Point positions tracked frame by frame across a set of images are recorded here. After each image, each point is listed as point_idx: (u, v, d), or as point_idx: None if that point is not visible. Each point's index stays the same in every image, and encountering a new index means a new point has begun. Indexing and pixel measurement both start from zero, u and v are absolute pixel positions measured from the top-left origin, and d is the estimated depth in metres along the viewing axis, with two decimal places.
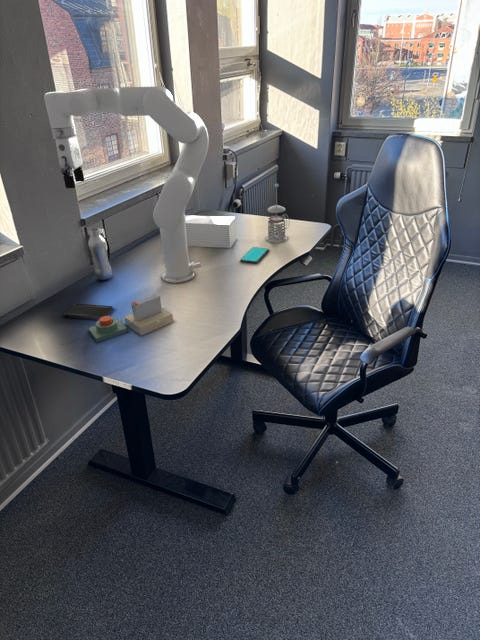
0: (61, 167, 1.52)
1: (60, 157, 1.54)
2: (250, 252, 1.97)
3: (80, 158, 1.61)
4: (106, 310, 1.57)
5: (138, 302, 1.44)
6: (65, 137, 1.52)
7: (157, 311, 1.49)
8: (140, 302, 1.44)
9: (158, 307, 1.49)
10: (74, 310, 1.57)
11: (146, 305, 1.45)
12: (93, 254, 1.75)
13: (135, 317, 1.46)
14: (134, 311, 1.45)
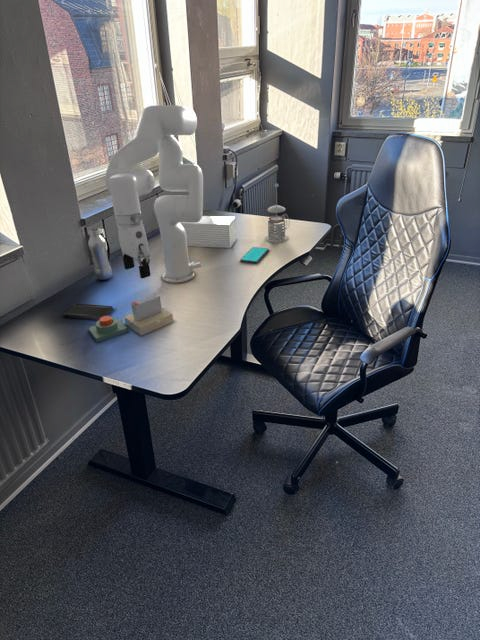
0: (147, 256, 1.33)
1: (137, 246, 1.34)
2: (250, 252, 1.97)
3: None
4: (106, 310, 1.57)
5: (138, 302, 1.44)
6: (139, 223, 1.33)
7: (157, 311, 1.49)
8: (140, 302, 1.44)
9: (158, 307, 1.49)
10: (74, 310, 1.57)
11: (146, 305, 1.45)
12: (93, 254, 1.75)
13: (135, 317, 1.46)
14: (134, 311, 1.45)
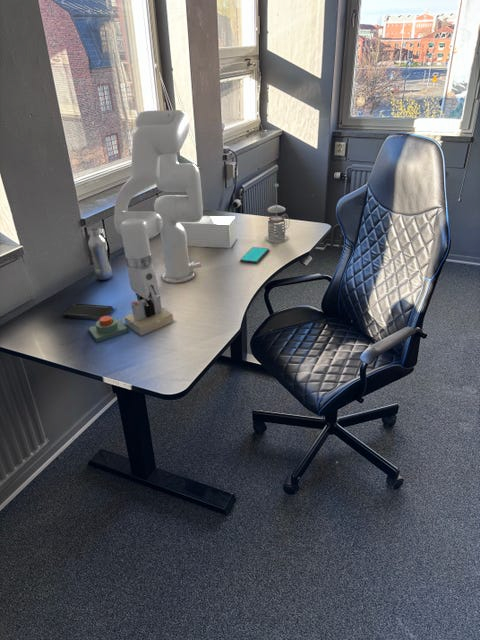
0: None
1: (147, 287, 1.39)
2: (250, 252, 1.97)
3: None
4: (106, 310, 1.57)
5: (138, 302, 1.44)
6: (149, 265, 1.38)
7: (157, 311, 1.49)
8: (140, 302, 1.44)
9: (158, 307, 1.49)
10: (74, 310, 1.57)
11: None
12: (93, 254, 1.75)
13: (135, 317, 1.46)
14: (134, 311, 1.45)
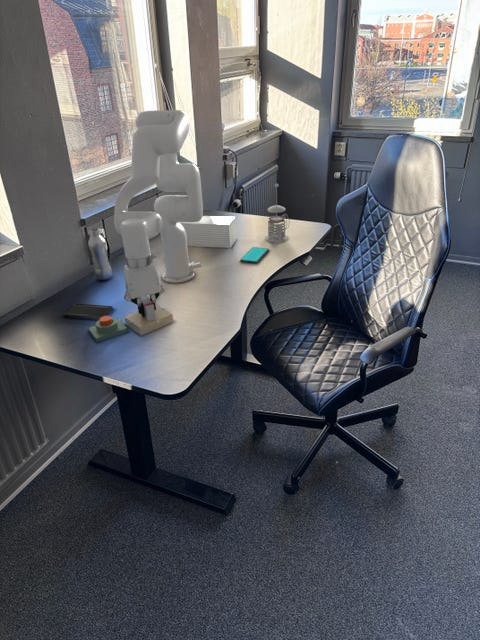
0: None
1: None
2: (250, 252, 1.97)
3: None
4: (106, 310, 1.57)
5: (147, 303, 1.44)
6: None
7: None
8: (148, 302, 1.44)
9: None
10: (74, 310, 1.57)
11: None
12: (93, 254, 1.75)
13: (151, 319, 1.45)
14: (150, 312, 1.44)
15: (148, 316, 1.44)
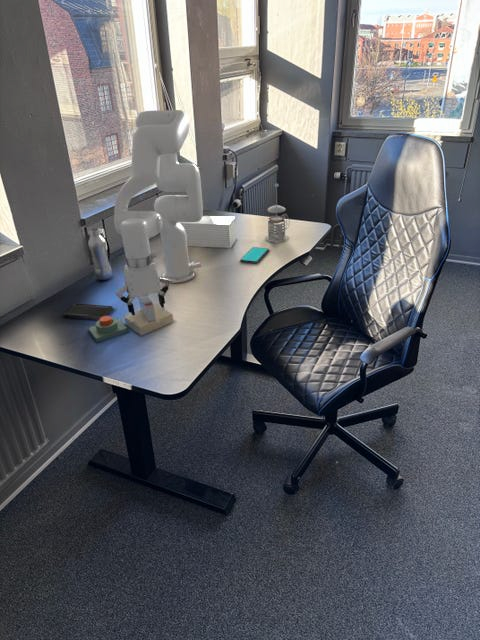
0: None
1: (159, 278, 1.44)
2: (250, 252, 1.97)
3: None
4: (106, 310, 1.57)
5: (147, 303, 1.44)
6: None
7: None
8: (148, 302, 1.44)
9: None
10: (74, 310, 1.57)
11: None
12: (93, 254, 1.75)
13: (151, 319, 1.45)
14: (150, 312, 1.44)
15: (148, 316, 1.44)
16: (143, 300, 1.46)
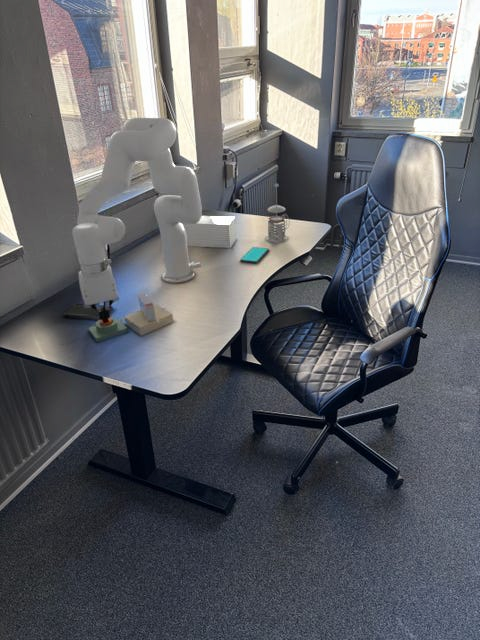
0: None
1: (115, 285, 1.40)
2: (250, 252, 1.97)
3: None
4: None
5: (147, 303, 1.44)
6: None
7: None
8: (148, 302, 1.44)
9: None
10: (74, 310, 1.57)
11: None
12: None
13: (151, 319, 1.45)
14: (150, 312, 1.44)
15: (148, 316, 1.44)
16: (143, 300, 1.46)
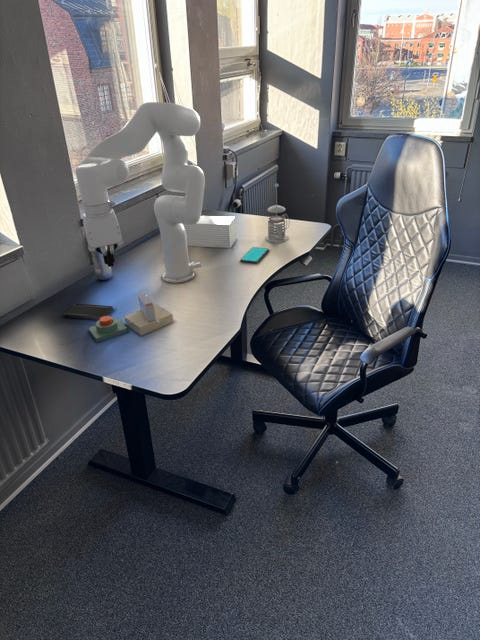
0: None
1: (119, 228, 1.40)
2: (250, 252, 1.97)
3: None
4: (106, 310, 1.57)
5: (147, 303, 1.44)
6: None
7: None
8: (148, 302, 1.44)
9: None
10: (74, 310, 1.57)
11: None
12: (93, 254, 1.75)
13: (151, 319, 1.45)
14: (150, 312, 1.44)
15: (148, 316, 1.44)
16: (143, 300, 1.46)
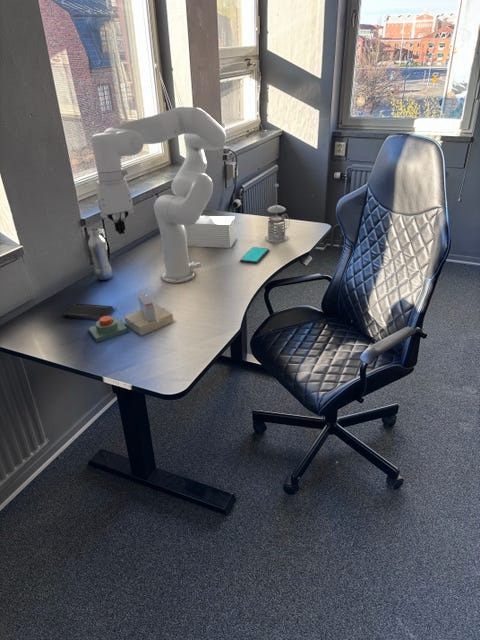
0: None
1: None
2: (250, 252, 1.97)
3: None
4: (106, 310, 1.57)
5: (147, 303, 1.44)
6: None
7: None
8: (148, 302, 1.44)
9: None
10: (74, 310, 1.57)
11: None
12: (93, 254, 1.75)
13: (151, 319, 1.45)
14: (150, 312, 1.44)
15: (148, 316, 1.44)
16: (143, 300, 1.46)
